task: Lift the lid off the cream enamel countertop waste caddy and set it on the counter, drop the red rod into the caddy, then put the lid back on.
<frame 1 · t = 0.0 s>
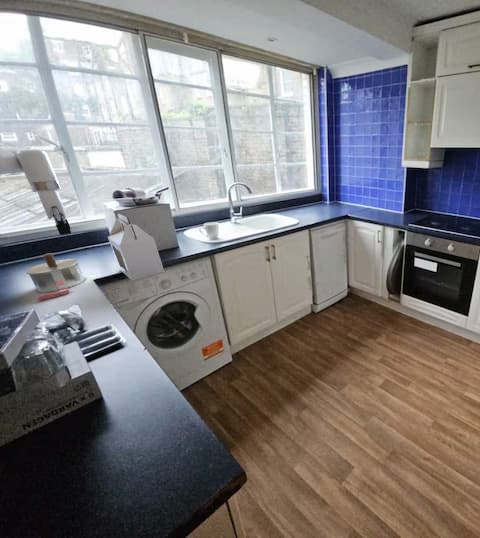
hand: (65, 231, 113), 27 cm above the table, tool pointing down, fingers open, 9 cm apart
gable box: (142, 271, 145), on the table
caddy: (61, 284, 134), on the table
red rod: (54, 296, 122), on the table
caddy lid: (53, 267, 130), point 8 cm above the table, touching caddy
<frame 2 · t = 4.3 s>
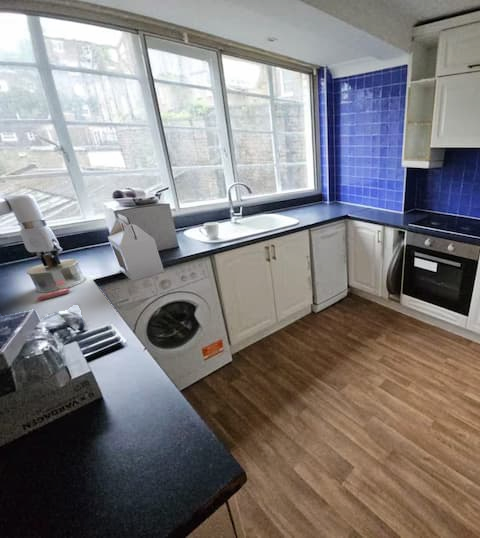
hand: (52, 264, 130), 10 cm above the table, tool pointing down, fingers closed on caddy lid, 3 cm apart
red rod: (54, 296, 122), on the table, tilted 19°
caddy lid: (53, 267, 130), point 9 cm above the table, touching caddy, gripper
everything else where it was.
when the fingers open (2 cm above the table, at t = 11.7 s): caddy lid stays where it is, point 1 cm above the table.
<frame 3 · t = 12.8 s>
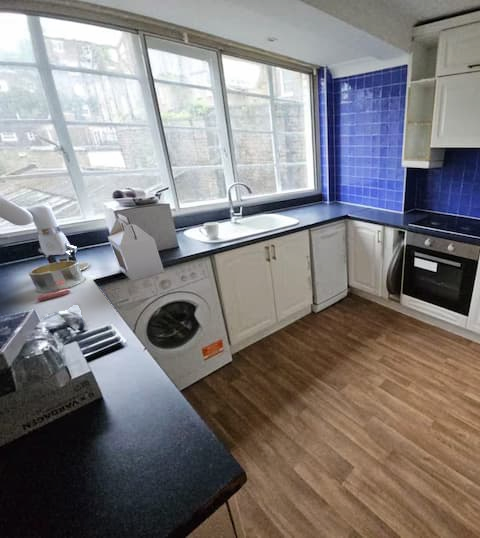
hand: (64, 264, 147), 4 cm above the table, tool pointing down, fingers open, 9 cm apart
caddy lid: (68, 269, 149), point 1 cm above the table
everything else where it was.
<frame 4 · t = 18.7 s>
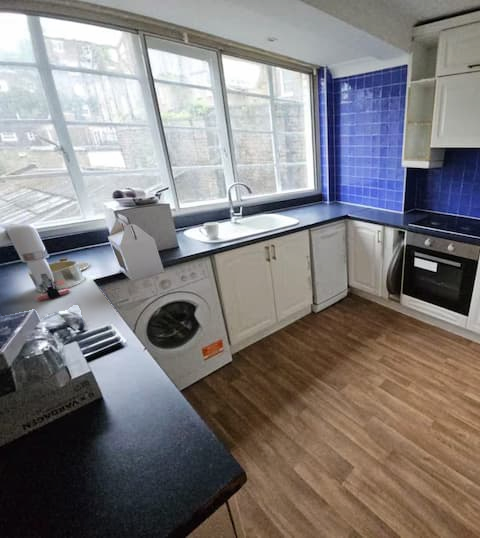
hand: (54, 296, 122), 0 cm above the table, tool pointing down, fingers closed on red rod, 2 cm apart
red rod: (54, 296, 122), on the table, tilted 20°, touching gripper
everything else where it was.
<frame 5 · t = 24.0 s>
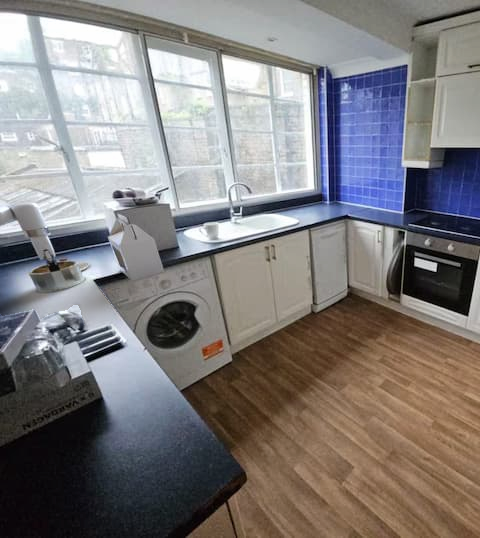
hand: (55, 270, 131), 7 cm above the table, tool pointing down, fingers open, 6 cm apart
red rod: (61, 283, 133), point 1 cm above the table, tilted 20°, touching caddy
everything else where it was.
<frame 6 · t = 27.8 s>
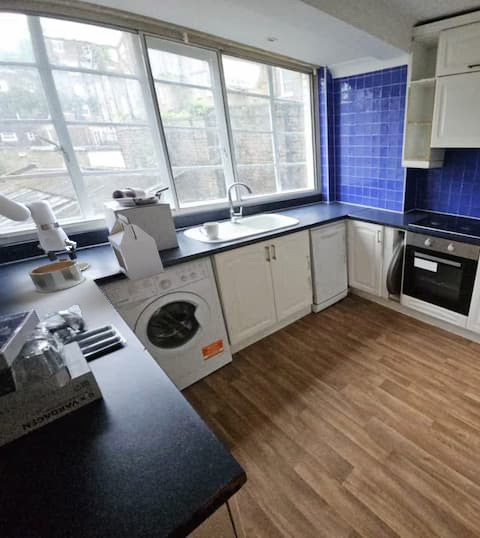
hand: (64, 259, 147), 6 cm above the table, tool pointing down, fingers open, 9 cm apart
red rod: (60, 281, 131), point 2 cm above the table, tilted 160°, touching caddy
everything else where it was.
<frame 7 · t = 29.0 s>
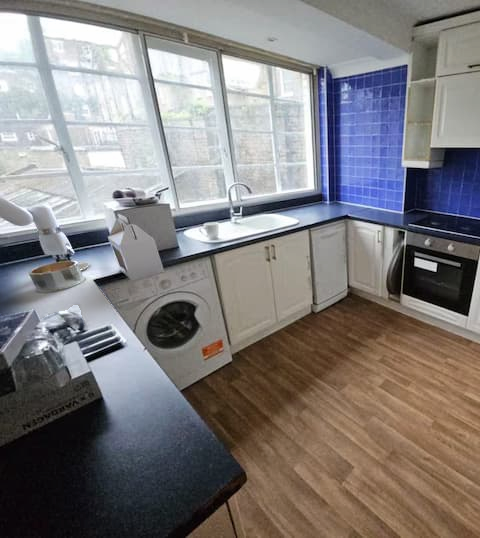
hand: (66, 266, 148), 3 cm above the table, tool pointing down, fingers closed on caddy lid, 3 cm apart
red rod: (61, 283, 130), point 2 cm above the table, tilted 124°, touching caddy
caddy lid: (67, 269, 149), point 1 cm above the table, touching gripper
everything else where it was.
when the fingers open (11 cm above the table, at t = 36.0 s): caddy lid stays where it is, resting on caddy.
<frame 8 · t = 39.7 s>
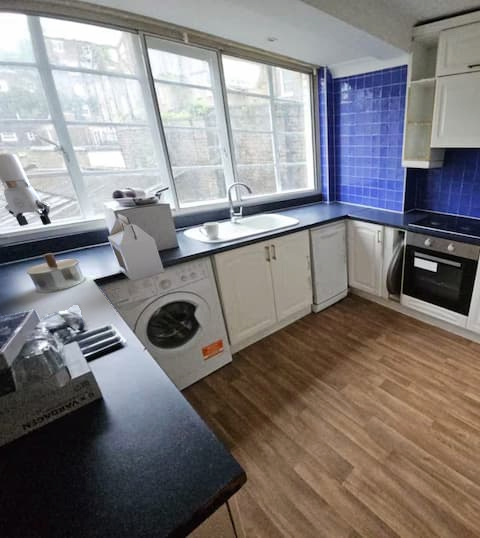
hand: (35, 224, 130), 26 cm above the table, tool pointing down, fingers open, 9 cm apart
caddy lid: (53, 267, 131), point 8 cm above the table, touching caddy
everything else where it was.
at the end: red rod inside the target area in the caddy (5.3 cm from its centre), point 2.1 cm above the caddy's base; caddy lid 0.1 cm off-centre on the caddy, point 8.5 cm above the caddy's base; caddy lid tilted 0° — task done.
